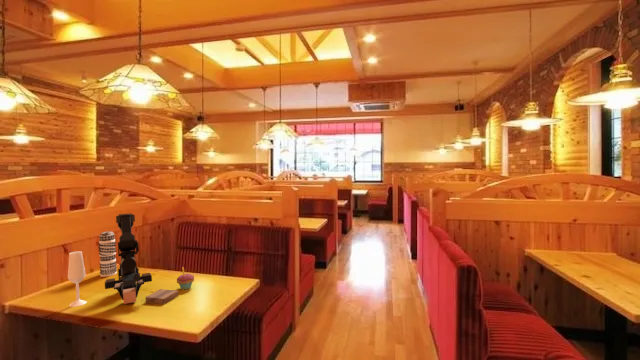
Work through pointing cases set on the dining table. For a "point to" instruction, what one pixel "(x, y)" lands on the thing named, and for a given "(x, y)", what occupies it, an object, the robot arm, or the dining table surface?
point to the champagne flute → (76, 274)
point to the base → (162, 296)
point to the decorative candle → (107, 254)
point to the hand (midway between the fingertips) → (129, 298)
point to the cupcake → (185, 280)
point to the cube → (129, 295)
